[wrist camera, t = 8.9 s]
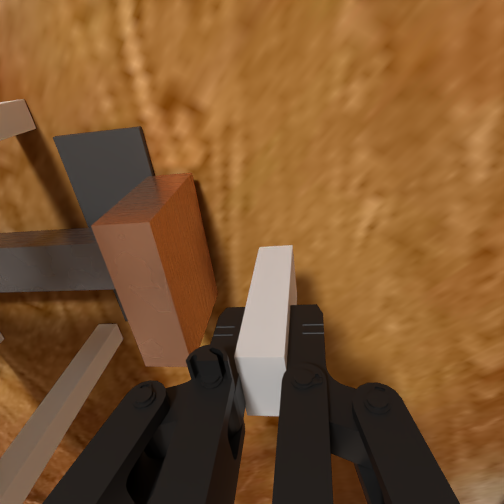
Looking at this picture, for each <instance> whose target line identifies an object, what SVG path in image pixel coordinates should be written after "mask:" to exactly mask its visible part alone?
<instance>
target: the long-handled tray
mask: <svg viewBox="0 0 504 504" xmlns="http://www.w3.org/2000/svg"><path fill="white" fill-rule="evenodd" d="M109 289H116V291H117V294H118V296H119V299H120V302H121V304H122V307H123V309H124V312H125V314H126V317H127V319H128V322H129V325H130V327H131V330H132V332H133V335H134V337H135V340H136V342H137V345H138V348H139V350H140V353H141V355H142V358H143V360H144V363H145V365H146V366H159V367H187V364H186V359H187V357H188V356H189V354H190V353H192V352H193V351H194V350H195V349H197V348H199V347H200V344H201V341H202V338H203V335H204V333H205V330H206V327H207V324H208V321H209V318H210V315H211V312H212V310H213V307H214V304H215V301H216V298H217V295H218V291H217V287H216V282H215V277H214V273H213V268H212V264H211V259H210V254H209V250H208V245H207V241H206V236H205V231H204V227H203V222H202V218H201V213H200V208H199V204H198V199H197V195H196V190H195V185H194V181H193V176H192V173H183V174H172V175H160V176H149V177H147V178H146V179H144V180H143V181H142V182H141V183H140V184H139V185H138V186H136V187H135V188H134V189H133V190H132V191H131V192H129V193H128V194H127V195H126V196H125V197H124V198H123V199H121V200H120V201H119V202H118V203H117V204H116V205H114V206H113V207H112V208H111V209H110V210H109V211H107V212H106V213H105V214H104V215H103V216H102V217H101V218H99V219H98V220H97V221H96V222H95V223H94V224H92V225H91V228H77V229H61V230H45V231H28V232H12V233H0V292H36V291H72V290H109Z"/></svg>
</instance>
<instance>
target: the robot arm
mask: <svg viewBox="0 0 504 504" xmlns="http://www.w3.org/2000/svg"><path fill="white" fill-rule="evenodd" d="M186 364H187V367H188V370H189V373H190V376H191V380H190V381H188V382H186V383H183V384H180V385H177V386H173V387H169V388H166V389H165V387H164V386H163V384H162V383H160V382H158V381H146V382H142V383H140V384H138V385H137V386H135V387H133V388H132V389H131V390H130V391H129V392H128V393H127V395H126V396H125V397H124V398H123V400H122V401H121V402H120V404H119V405H118V406H117V408H116V409H115V410H114V411H113V413H112V414H111V415H110V417H109V418H108V419H107V420H106V422H105V423H104V424H103V426H102V427H101V428H100V430H99V431H98V432H97V433H96V435H95V436H94V437H93V439H92V440H91V441H90V443H89V444H88V445H87V446H86V448H85V449H84V450H83V452H82V453H81V454H80V455H79V457H78V458H77V459H76V461H75V462H74V463H73V465H72V466H71V467H70V468H69V470H68V471H67V472H66V474H65V475H64V476H63V478H62V479H61V480H60V481H59V483H58V484H57V485H56V487H55V488H54V489H53V490H52V492H51V493H50V494H49V496H48V497H47V498H46V500H45V501H44V502H43V503H42V504H234V500H235V493H236V487H237V481H238V474H239V468H240V461H241V455H242V448H243V442H244V435H245V424H244V420H243V417H244V411H245V407H246V411H247V415H257V416H279V422H278V435H277V448H276V461H275V473H274V486H273V499H272V504H333V490H332V471H331V454H334V455H336V456H339V457H341V458H344V459H346V460H349V461H351V462H353V463H354V466H355V468H356V471H357V474H358V477H359V480H360V483H361V486H362V488H363V491H364V494H365V497H366V500H367V503H368V504H460V503H459V501H458V499H457V497H456V496H455V494H454V492H453V490H452V488H451V487H450V485H449V483H448V481H447V479H446V478H445V476H444V474H443V472H442V470H441V469H440V467H439V465H438V463H437V461H436V460H435V458H434V456H433V454H432V452H431V451H430V449H429V447H428V445H427V443H426V442H425V440H424V438H423V436H422V434H421V433H420V431H419V429H418V427H417V425H416V424H415V422H414V420H413V418H412V416H411V415H410V413H409V411H408V409H407V407H406V406H405V404H404V402H403V400H402V398H401V397H400V396H399V395H398V393H397V392H396V391H395V390H393V389H392V388H390V387H389V386H387V385H384V384H380V383H366V384H364V385H361V386H359V387H358V388H357V389H355V388H351V387H348V386H345V385H343V384H340V383H339V382H337V381H336V380H334V379H333V378H332V377H331V376H330V375H329V373H328V371H327V368H326V361H325V343H324V325H323V313H322V311H321V310H320V308H319V307H318V306H317V304H314V305H297V288H296V277H295V267H294V257H293V247H292V245H288V246H271V247H259V251H258V255H257V259H256V264H255V268H254V273H253V277H252V281H251V286H250V290H249V294H248V299H247V303H246V307H232V308H226V309H225V310H224V312H223V313H222V314H221V315H220V316H219V319H218V322H217V325H216V328H215V331H214V336H213V337H212V341H211V344H210V345H205V346H202V347H199V348H197V349H195V350H194V351H193V352H192V353H190V354H189V356H188V357H187V359H186Z"/></svg>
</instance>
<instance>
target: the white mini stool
mask: <svg viewBox="0 0 504 504" xmlns="http://www.w3.org/2000/svg"><path fill="white" fill-rule="evenodd" d="M34 129H36V127H35V124H34V122H33V120H32V117H31V115H30V112H29V110H28V107H27V105H26V103H25V100H24V99H21V100H14V101H7V102H0V140H3V139H6V138H9V137H12V136H15V135H18V134H21V133H25V132H28V131H31V130H34ZM53 139H54V142H55V144H56V147H57V149H58V152H59V154H60V157H61V159H62V162H63V164H64V167H65V169H66V172H67V174H68V177H69V179H70V182H71V184H72V187H73V190H74V192H75V195H76V197H77V200H78V202H79V205H80V207H81V210H82V212H83V215H84V217H85V220H86V222H87V225H88V227H89V228H91V225H92V224H94V223H95V222H96V221H97V220H98V219H99V218H101V217H102V216H103V215H104V214H105V213H106V212H107V211H109V210H110V209H111V208H112V207H113V206H114V205H116V204H117V203H118V202H119V201H120V200H121V199H123V198H124V197H125V196H126V195H127V194H128V193H129V192H131V191H132V190H133V189H134V188H135V187H136V186H138V185H139V184H140V183H141V182H142V181H143V180H144V179H146V178H147V177H149V176H154V172H153V169H152V165H151V161H150V157H149V154H148V150H147V146H146V143H145V139H144V135H143V132H142V128H141V127H132V128H123V129H114V130H106V131H97V132H88V133H79V134H70V135H62V136H55V137H53ZM113 290H114V293H115V296H116V298H117V301H118V303H119V306H120V308H121V311H122V313H123V316H124V318H125V321H128V319H127V317H126V314H125V312H124V309H123V307H122V304H121V302H120V299H119V296H118V294H117V291H116V289H113ZM3 340H4V337H3V336H2V334H1V333H0V343H1V342H2V341H3ZM122 340H123V337H122V335H121V332H120V330H119V327H118V325H117V324H98V326H97V327H96V328H95V330H94V331H93V333H92V334H91V335H90V337H89V338H88V339H87V341H86V342H85V343H84V345H83V346H82V348H81V349H80V350H79V352H78V353H77V354H76V356H75V357H74V359H73V360H72V361H71V363H70V364H69V365H68V367H67V368H66V369H65V371H64V372H63V374H62V375H61V376H60V378H59V379H58V380H57V382H56V383H55V385H54V386H53V387H52V389H51V390H50V391H49V393H48V394H47V396H46V397H45V398H44V400H43V401H42V402H41V404H40V405H39V406H38V408H37V409H36V411H35V412H34V413H33V415H32V416H31V417H30V419H29V420H28V422H27V423H26V424H25V426H24V427H23V428H22V430H21V431H20V433H19V434H18V435H17V437H16V438H15V439H14V441H13V442H12V443H11V445H10V446H9V448H8V449H7V450H6V452H5V453H4V454H3V456H2V457H1V459H0V504H23V502H24V500H25V499H26V497H27V495H28V494H29V492H30V491H31V489H32V487H33V486H34V484H35V482H36V481H37V479H38V477H39V476H40V474H41V473H42V471H43V469H44V468H45V466H46V464H47V463H48V461H49V460H50V458H51V456H52V455H53V453H54V451H55V450H56V448H57V446H58V445H59V443H60V442H61V440H62V438H63V437H64V435H65V433H66V432H67V430H68V428H69V427H70V425H71V424H72V422H73V420H74V419H75V417H76V415H77V414H78V412H79V410H80V409H81V407H82V406H83V404H84V402H85V401H86V399H87V397H88V396H89V394H90V392H91V391H92V389H93V388H94V386H95V384H96V383H97V381H98V379H99V378H100V376H101V375H102V373H103V371H104V370H105V368H106V366H107V365H108V363H109V361H110V360H111V358H112V357H113V355H114V353H115V352H116V350H117V348H118V347H119V345H120V343H121V342H122Z"/></svg>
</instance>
